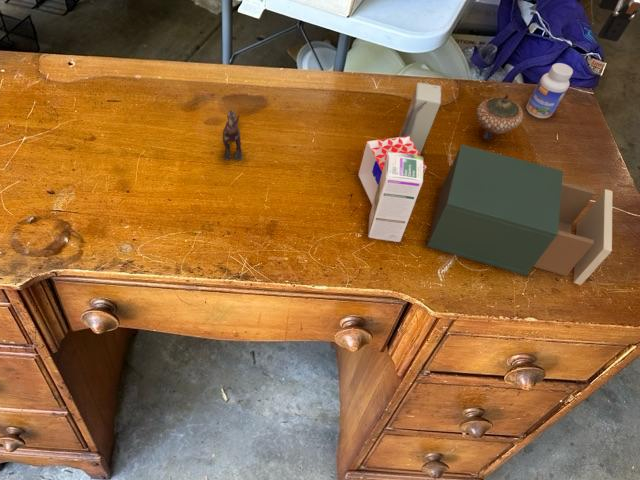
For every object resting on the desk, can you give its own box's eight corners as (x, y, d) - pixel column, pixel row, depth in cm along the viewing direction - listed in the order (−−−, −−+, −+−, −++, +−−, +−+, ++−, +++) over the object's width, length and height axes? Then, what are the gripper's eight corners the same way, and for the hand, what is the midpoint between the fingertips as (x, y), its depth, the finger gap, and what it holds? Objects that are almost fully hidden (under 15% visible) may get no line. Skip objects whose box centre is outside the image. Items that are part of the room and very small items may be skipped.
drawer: (590, 229, 99) (620, 192, 92) (588, 287, 92) (620, 253, 84) (493, 202, 102) (514, 165, 94) (484, 256, 95) (506, 221, 87)
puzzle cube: (413, 199, 103) (426, 166, 96) (372, 205, 102) (382, 172, 95) (397, 169, 107) (409, 135, 101) (358, 174, 106) (367, 140, 99)
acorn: (510, 131, 114) (533, 88, 106) (506, 157, 110) (529, 114, 101) (469, 120, 116) (489, 77, 107) (463, 145, 111) (483, 102, 103)
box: (398, 137, 112) (416, 80, 101) (420, 141, 112) (441, 84, 101) (396, 155, 109) (415, 98, 98) (419, 159, 109) (441, 102, 98)
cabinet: (533, 214, 102) (563, 170, 93) (526, 276, 94) (557, 234, 85) (440, 189, 104) (461, 144, 96) (426, 246, 97) (447, 203, 88)
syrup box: (400, 243, 97) (426, 181, 85) (366, 238, 97) (386, 175, 85) (401, 218, 100) (425, 155, 88) (367, 213, 101) (387, 150, 89)
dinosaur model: (223, 116, 96) (227, 68, 105) (220, 171, 105) (223, 122, 114) (247, 118, 96) (248, 70, 105) (241, 173, 105) (243, 124, 114)
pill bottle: (521, 112, 118) (544, 70, 109) (530, 99, 120) (552, 57, 112) (547, 122, 116) (572, 81, 108) (555, 109, 118) (580, 67, 110)
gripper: (706, -56, 78) (630, 56, 93) (697, -107, 87) (629, 3, 102) (649, -67, 80) (583, 45, 94) (646, -116, 89) (586, -7, 103)
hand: (607, 23), depth 98 cm, fingers open, 9 cm apart
